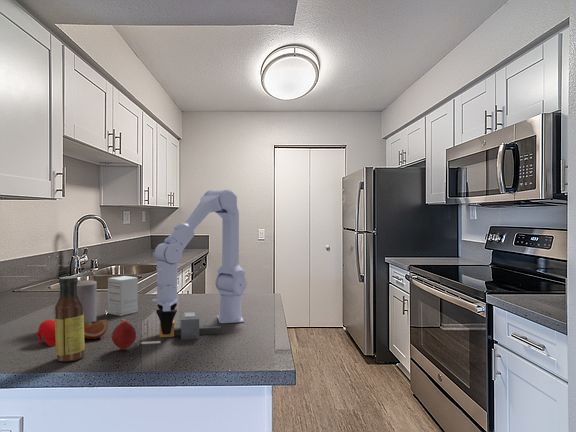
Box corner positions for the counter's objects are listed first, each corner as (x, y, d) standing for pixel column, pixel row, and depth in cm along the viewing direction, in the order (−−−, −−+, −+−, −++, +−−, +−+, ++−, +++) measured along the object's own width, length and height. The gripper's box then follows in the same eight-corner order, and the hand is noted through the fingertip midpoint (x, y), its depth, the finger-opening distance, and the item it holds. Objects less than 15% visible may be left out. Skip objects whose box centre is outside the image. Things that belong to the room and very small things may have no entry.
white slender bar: (141, 343, 116) (141, 342, 116) (160, 342, 117) (160, 340, 117) (141, 344, 115) (141, 343, 115) (160, 343, 116) (160, 341, 116)
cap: (31, 329, 116) (32, 322, 112) (54, 319, 120) (55, 312, 116) (44, 354, 115) (45, 348, 110) (67, 343, 118) (69, 336, 114)
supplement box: (124, 309, 156) (125, 275, 156) (138, 312, 152) (138, 277, 152) (107, 313, 150) (107, 277, 150) (120, 316, 146) (121, 279, 146)
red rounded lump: (128, 345, 114) (128, 315, 114) (140, 349, 110) (140, 319, 110) (107, 350, 109) (108, 319, 109) (119, 355, 106) (119, 323, 106)
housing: (180, 330, 129) (180, 310, 129) (197, 329, 131) (197, 310, 131) (181, 340, 119) (181, 319, 119) (199, 338, 120) (199, 318, 120)
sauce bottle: (88, 354, 106) (89, 275, 106) (77, 363, 100) (78, 279, 100) (62, 354, 106) (63, 275, 106) (49, 363, 100) (50, 278, 100)
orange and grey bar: (220, 331, 129) (220, 318, 129) (220, 334, 126) (221, 320, 126) (160, 333, 125) (160, 320, 125) (159, 337, 122) (159, 323, 122)
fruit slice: (77, 343, 115) (77, 325, 115) (73, 338, 120) (73, 320, 120) (109, 339, 119) (110, 321, 119) (104, 333, 125) (104, 316, 125)
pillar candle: (64, 323, 136) (64, 276, 135) (97, 320, 139) (98, 275, 139) (59, 331, 126) (60, 281, 126) (95, 328, 130) (95, 280, 130)
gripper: (153, 280, 129) (153, 325, 129) (151, 288, 115) (151, 338, 115) (177, 280, 131) (177, 324, 131) (178, 288, 117) (177, 337, 117)
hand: (166, 330), depth 123 cm, fingers open, 6 cm apart
